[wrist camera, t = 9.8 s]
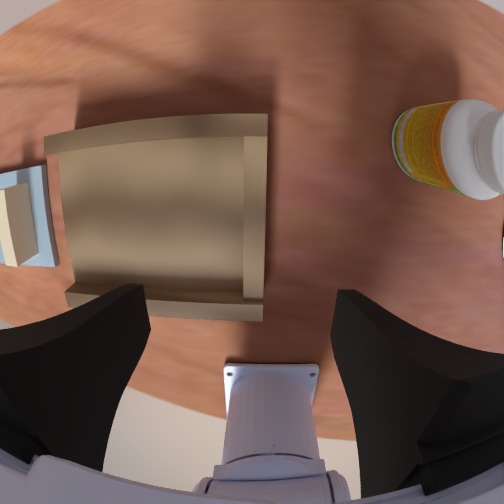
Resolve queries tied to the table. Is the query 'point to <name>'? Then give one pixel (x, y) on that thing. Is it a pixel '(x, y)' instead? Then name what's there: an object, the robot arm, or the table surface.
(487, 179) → the supplement bottle
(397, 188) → the table surface
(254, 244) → the box
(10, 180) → the lid
